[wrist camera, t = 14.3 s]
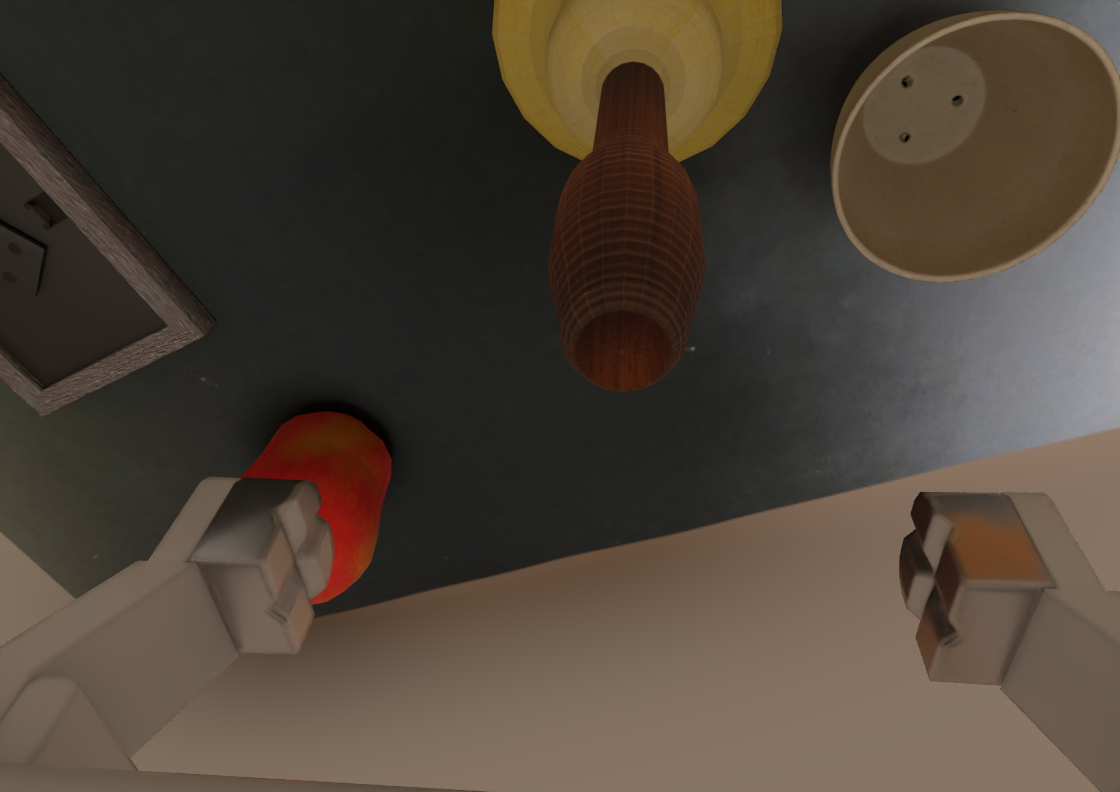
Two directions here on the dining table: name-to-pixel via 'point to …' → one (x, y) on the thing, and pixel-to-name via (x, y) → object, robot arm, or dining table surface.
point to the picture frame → (75, 275)
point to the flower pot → (974, 144)
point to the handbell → (631, 158)
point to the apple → (334, 483)
